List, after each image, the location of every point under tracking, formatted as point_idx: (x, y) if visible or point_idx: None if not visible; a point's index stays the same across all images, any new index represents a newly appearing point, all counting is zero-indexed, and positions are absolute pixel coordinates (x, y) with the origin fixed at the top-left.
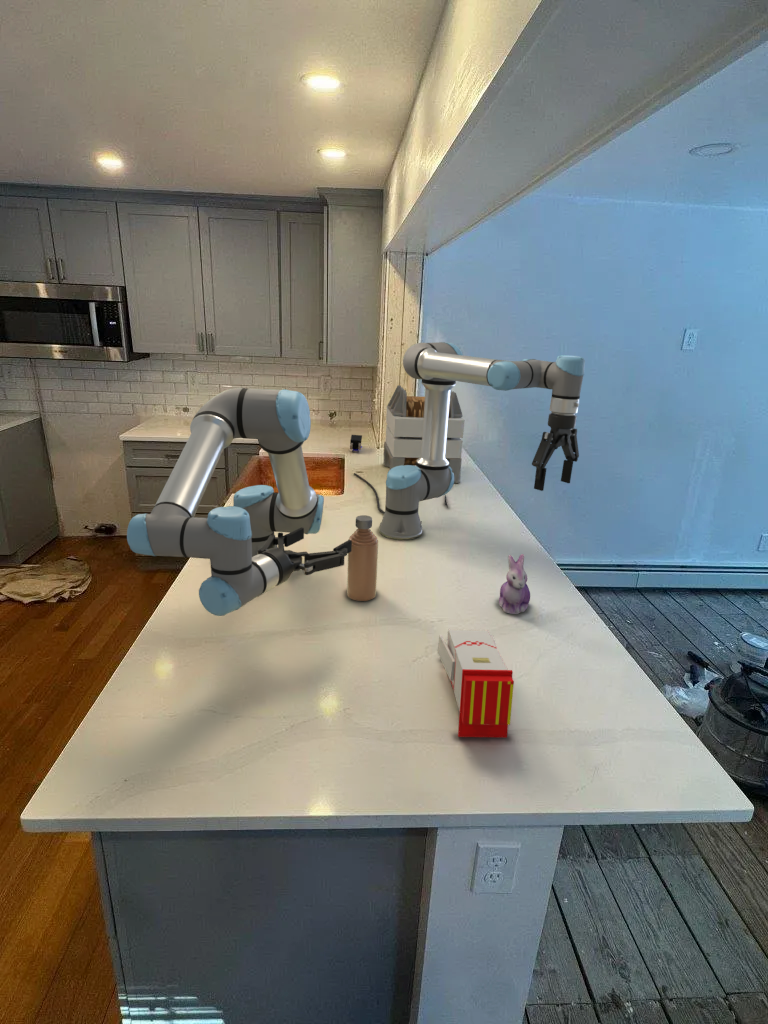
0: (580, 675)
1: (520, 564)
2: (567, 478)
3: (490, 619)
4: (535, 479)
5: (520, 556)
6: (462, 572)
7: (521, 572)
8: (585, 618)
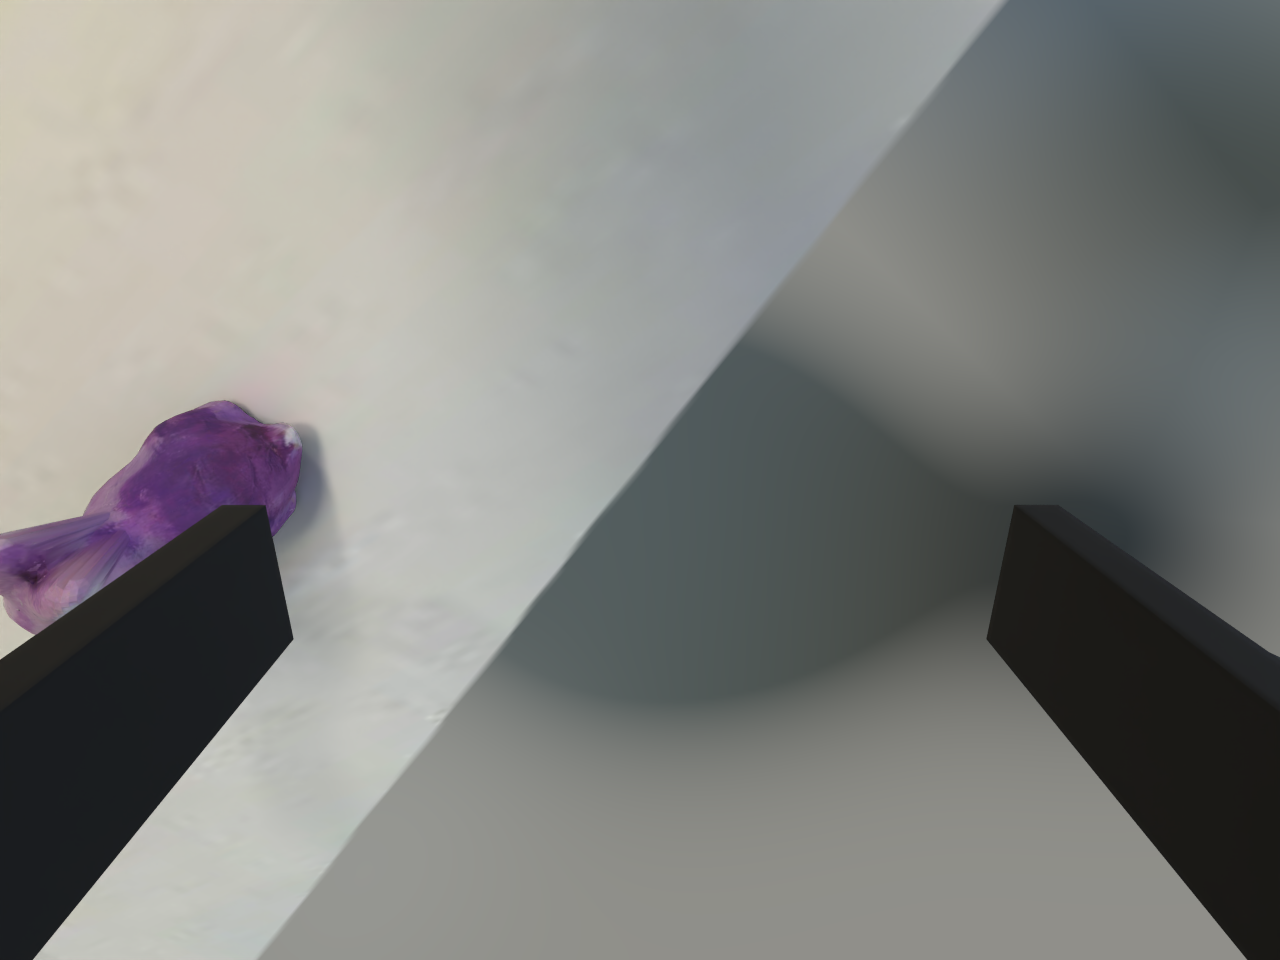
0: (137, 831)
1: (35, 615)
2: (1030, 656)
3: (63, 483)
4: (113, 591)
5: (41, 600)
6: (233, 34)
7: (36, 630)
8: (438, 687)
